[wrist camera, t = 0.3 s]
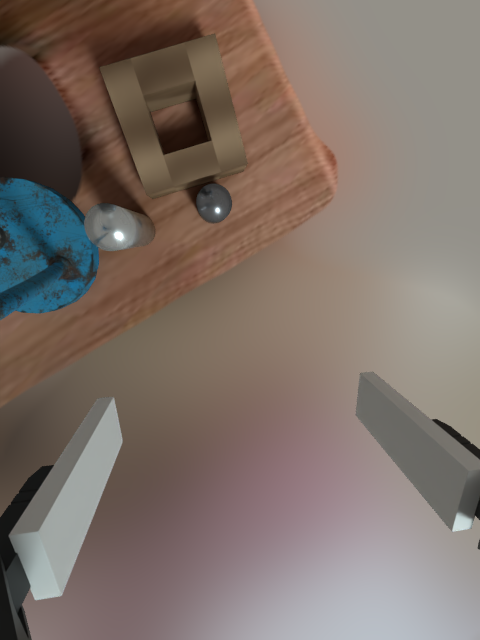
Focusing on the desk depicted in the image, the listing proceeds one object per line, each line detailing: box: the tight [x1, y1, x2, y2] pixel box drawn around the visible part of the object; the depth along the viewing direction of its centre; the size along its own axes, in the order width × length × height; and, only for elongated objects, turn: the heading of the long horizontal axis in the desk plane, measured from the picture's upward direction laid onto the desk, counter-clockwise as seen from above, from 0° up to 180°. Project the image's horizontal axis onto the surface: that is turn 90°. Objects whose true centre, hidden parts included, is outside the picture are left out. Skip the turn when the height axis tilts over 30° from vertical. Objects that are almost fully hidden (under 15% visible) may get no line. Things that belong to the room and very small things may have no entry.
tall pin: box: [84, 203, 155, 251], centre depth 30 cm, size 4×4×12 cm
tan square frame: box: [99, 34, 248, 199], centre depth 31 cm, size 12×12×4 cm
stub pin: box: [196, 184, 232, 224], centre depth 34 cm, size 4×4×5 cm
